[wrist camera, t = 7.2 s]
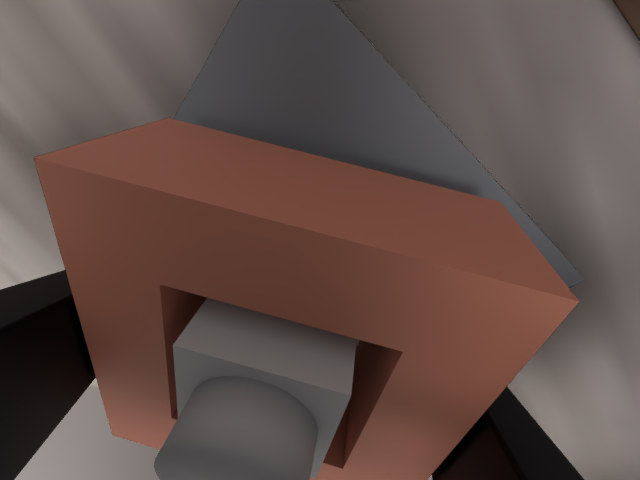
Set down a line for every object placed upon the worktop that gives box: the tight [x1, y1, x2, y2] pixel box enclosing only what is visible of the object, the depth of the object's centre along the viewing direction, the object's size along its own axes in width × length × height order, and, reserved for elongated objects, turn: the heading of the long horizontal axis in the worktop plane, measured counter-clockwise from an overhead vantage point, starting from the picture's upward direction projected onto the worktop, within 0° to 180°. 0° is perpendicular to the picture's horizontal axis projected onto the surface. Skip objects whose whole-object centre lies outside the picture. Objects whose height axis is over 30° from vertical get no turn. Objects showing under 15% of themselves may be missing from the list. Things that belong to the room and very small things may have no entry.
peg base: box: [154, 0, 585, 480], centre depth 7 cm, size 10×10×6 cm
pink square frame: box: [34, 118, 579, 480], centre depth 7 cm, size 7×7×3 cm
